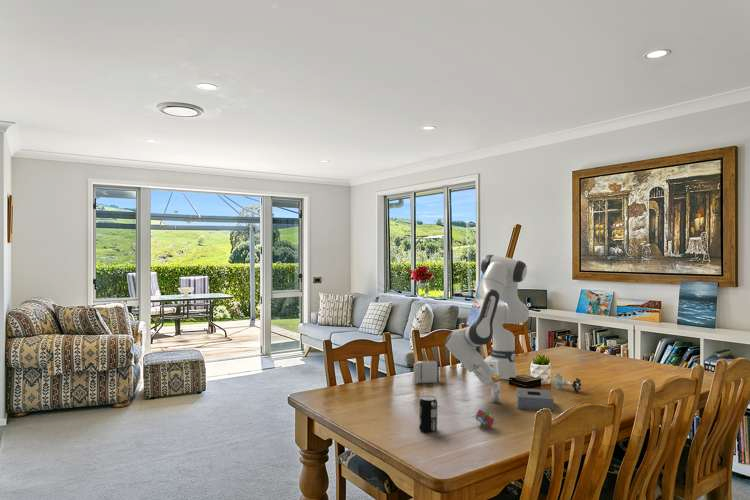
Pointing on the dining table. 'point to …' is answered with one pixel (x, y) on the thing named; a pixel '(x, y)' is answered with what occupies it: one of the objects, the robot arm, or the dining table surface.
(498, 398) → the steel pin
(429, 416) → the beverage can
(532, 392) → the socket block
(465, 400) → the dining table surface
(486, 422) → the geometric puzzle
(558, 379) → the valve
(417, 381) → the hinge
